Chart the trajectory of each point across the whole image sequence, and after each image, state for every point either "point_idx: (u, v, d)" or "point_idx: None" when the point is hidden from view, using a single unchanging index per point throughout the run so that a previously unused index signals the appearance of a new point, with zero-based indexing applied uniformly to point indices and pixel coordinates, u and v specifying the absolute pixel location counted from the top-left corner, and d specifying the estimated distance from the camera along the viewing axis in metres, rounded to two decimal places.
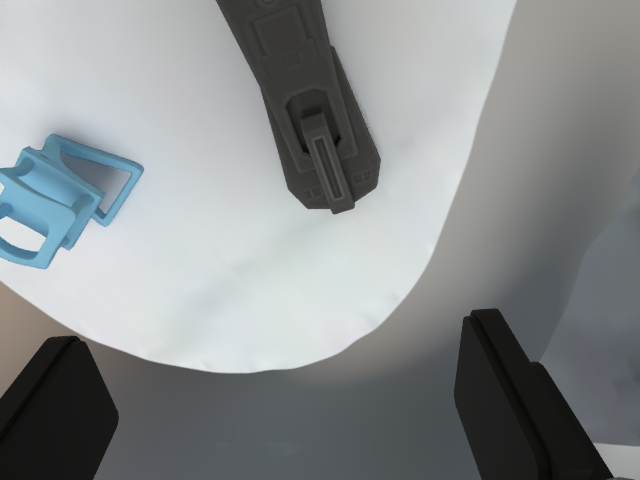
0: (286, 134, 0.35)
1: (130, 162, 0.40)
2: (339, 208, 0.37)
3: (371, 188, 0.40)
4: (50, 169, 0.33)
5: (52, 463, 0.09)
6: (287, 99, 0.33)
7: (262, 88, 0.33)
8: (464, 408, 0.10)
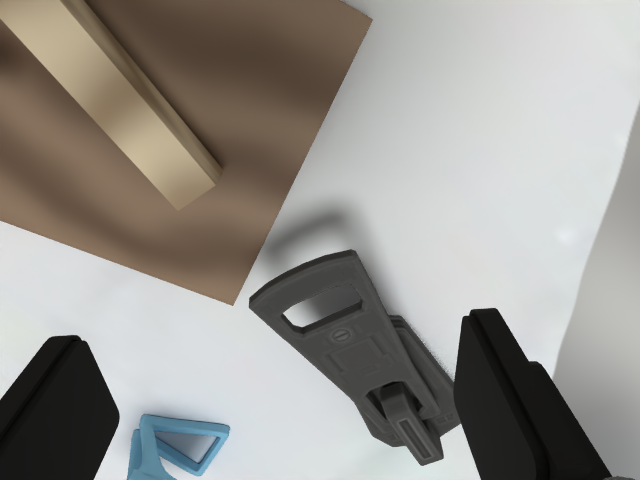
0: (368, 413, 0.35)
1: (217, 427, 0.41)
2: (429, 463, 0.37)
3: (455, 425, 0.39)
4: None
5: (53, 462, 0.09)
6: (367, 392, 0.33)
7: (342, 390, 0.33)
8: (463, 407, 0.10)
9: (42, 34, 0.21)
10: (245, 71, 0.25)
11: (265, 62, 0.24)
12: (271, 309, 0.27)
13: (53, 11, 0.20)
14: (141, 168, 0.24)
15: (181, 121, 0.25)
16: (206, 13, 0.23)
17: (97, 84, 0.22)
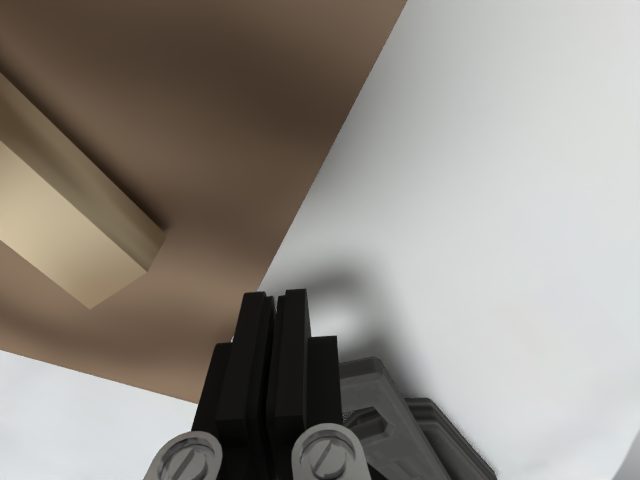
0: None
1: None
2: None
3: None
4: None
5: None
6: None
7: None
8: None
9: None
10: (191, 80, 0.14)
11: (225, 64, 0.14)
12: None
13: None
14: (17, 249, 0.14)
15: (88, 164, 0.15)
16: None
17: None
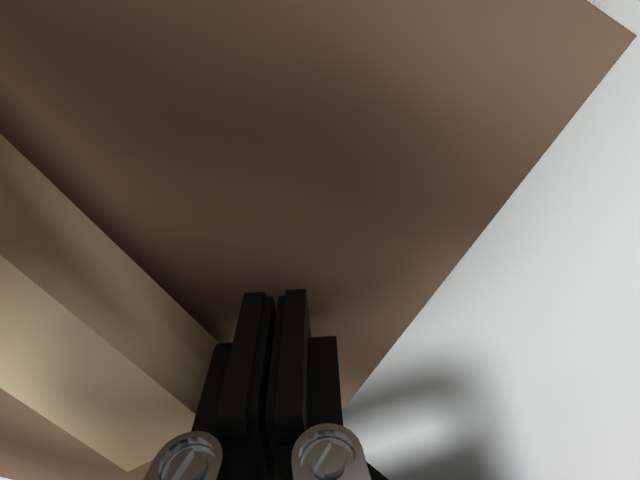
0: None
1: None
2: None
3: None
4: None
5: None
6: None
7: None
8: None
9: None
10: (290, 158, 0.10)
11: (342, 137, 0.10)
12: None
13: None
14: (29, 402, 0.10)
15: (134, 270, 0.11)
16: (193, 14, 0.09)
17: None
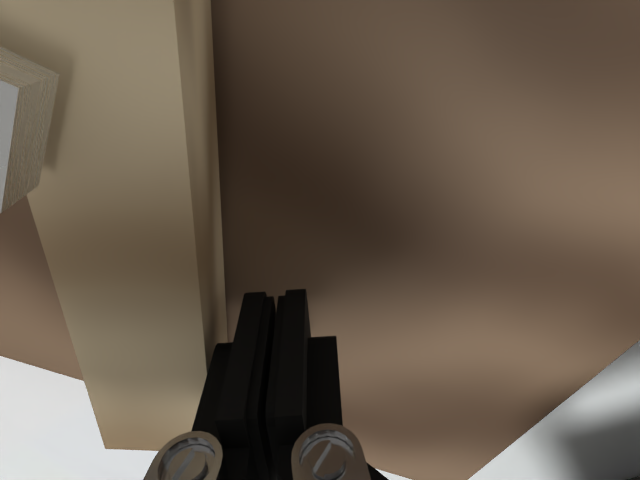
0: None
1: None
2: None
3: None
4: None
5: None
6: None
7: None
8: None
9: (45, 8, 0.06)
10: None
11: None
12: None
13: None
14: (86, 370, 0.10)
15: (223, 295, 0.12)
16: None
17: (114, 203, 0.08)
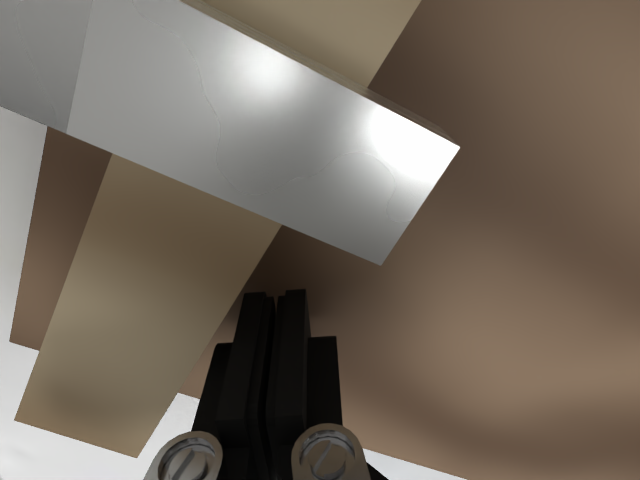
0: None
1: None
2: None
3: None
4: None
5: None
6: None
7: None
8: None
9: None
10: None
11: None
12: None
13: (357, 19, 0.06)
14: (53, 335, 0.09)
15: None
16: None
17: (205, 192, 0.07)
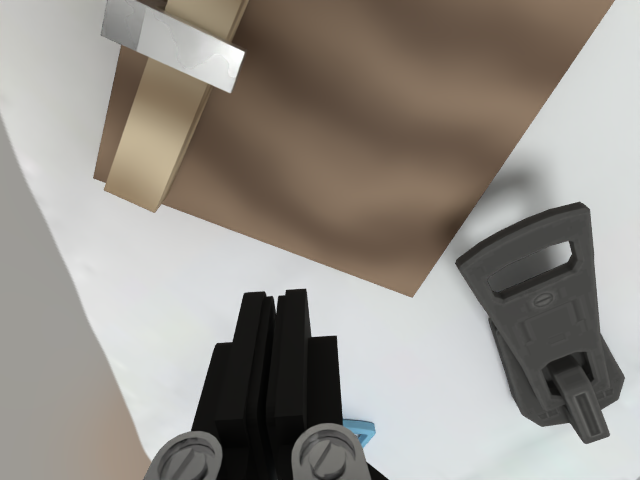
0: (538, 388, 0.33)
1: (364, 424, 0.40)
2: None
3: (613, 401, 0.37)
4: None
5: None
6: (545, 365, 0.31)
7: (521, 362, 0.31)
8: None
9: (191, 11, 0.20)
10: (477, 50, 0.24)
11: (500, 39, 0.24)
12: (483, 270, 0.25)
13: (219, 18, 0.20)
14: (122, 143, 0.23)
15: (187, 145, 0.25)
16: None
17: (177, 78, 0.21)
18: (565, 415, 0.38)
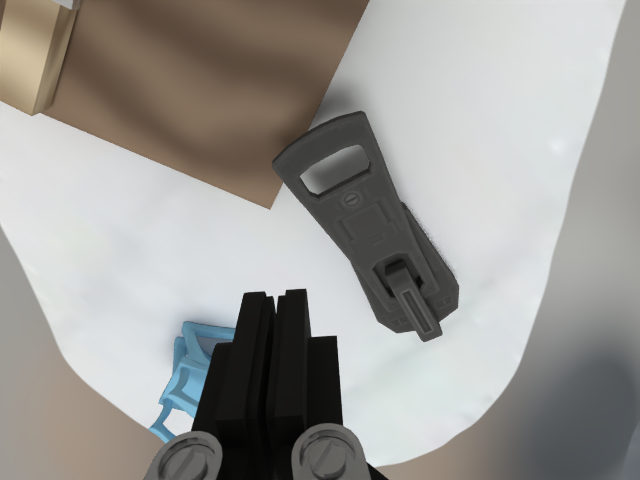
0: (375, 289, 0.39)
1: None
2: (429, 338, 0.41)
3: (453, 309, 0.43)
4: (202, 372, 0.40)
5: None
6: (374, 265, 0.38)
7: (352, 261, 0.37)
8: None
9: None
10: None
11: None
12: (291, 169, 0.31)
13: None
14: None
15: (60, 63, 0.31)
16: None
17: None
18: None
